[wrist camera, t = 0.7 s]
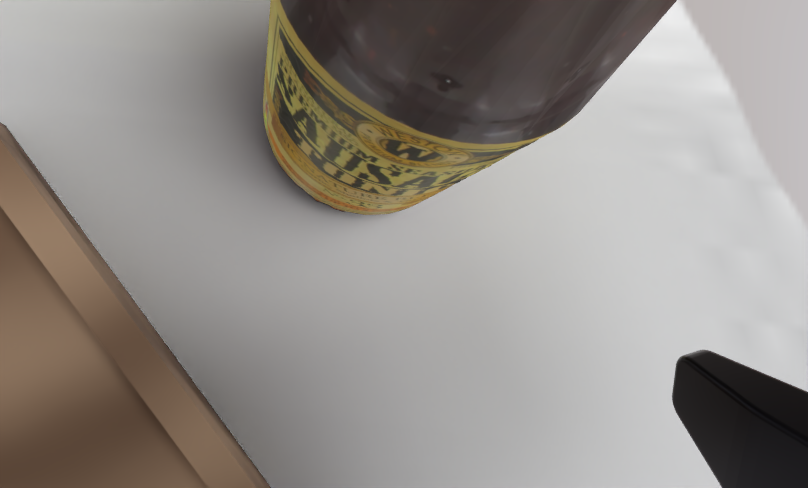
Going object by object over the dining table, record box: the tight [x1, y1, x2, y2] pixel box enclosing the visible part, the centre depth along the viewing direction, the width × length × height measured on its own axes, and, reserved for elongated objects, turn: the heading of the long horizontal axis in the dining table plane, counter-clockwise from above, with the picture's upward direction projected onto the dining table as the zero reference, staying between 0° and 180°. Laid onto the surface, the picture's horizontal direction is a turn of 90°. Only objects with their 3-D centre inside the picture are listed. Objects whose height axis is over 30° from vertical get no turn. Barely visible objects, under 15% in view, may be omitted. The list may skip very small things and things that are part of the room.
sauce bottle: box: [263, 0, 677, 215], centre depth 13 cm, size 6×6×20 cm
